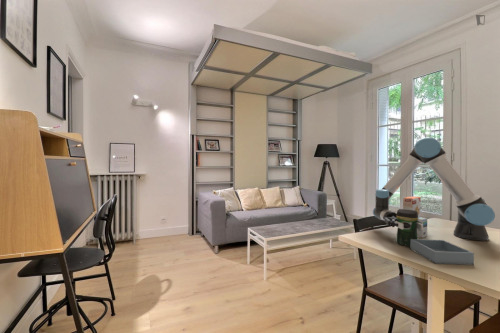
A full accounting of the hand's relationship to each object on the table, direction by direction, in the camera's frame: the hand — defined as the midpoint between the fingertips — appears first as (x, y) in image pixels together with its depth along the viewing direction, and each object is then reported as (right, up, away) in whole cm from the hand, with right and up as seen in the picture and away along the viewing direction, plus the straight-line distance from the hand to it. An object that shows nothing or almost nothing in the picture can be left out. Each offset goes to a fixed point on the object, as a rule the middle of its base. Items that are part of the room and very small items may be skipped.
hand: (412, 227), depth 120 cm
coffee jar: (0, -11, +5) cm, 12 cm away
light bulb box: (+18, -11, +23) cm, 31 cm away
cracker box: (+25, -11, +37) cm, 46 cm away
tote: (+5, -11, -11) cm, 16 cm away
